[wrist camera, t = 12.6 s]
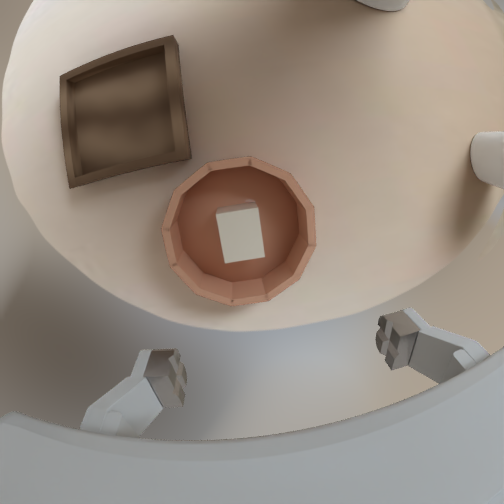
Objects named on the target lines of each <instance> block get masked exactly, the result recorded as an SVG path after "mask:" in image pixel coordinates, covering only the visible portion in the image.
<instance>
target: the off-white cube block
mask: <svg viewBox="0 0 504 504" xmlns="http://www.w3.org/2000/svg"><path fill="white" fill-rule="evenodd" d="M216 218H217V224H218V229H219V235H220V240H221V245H222V251H223V256H224V261H225V263H231V262H237V261H243V260H249V259H256V258H262V257H265V254H264V246H263V239H262V232H261V225H260V218H259V210H258V206H257V204H256V203H255V202H249V203H242V204H236V205H230V206H224V207H218V208H217V212H216Z"/></svg>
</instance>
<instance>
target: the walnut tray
mask: <svg viewBox="0 0 504 504" xmlns="http://www.w3.org/2000/svg"><path fill="white" fill-rule="evenodd" d="M60 114H61V128H62V139H63V148H64V156H65V164H66V170H67V176H68V182H69V188H70V189H71V188H74V187H78V186H81V185H85V184H88V183H91V182H95V181H98V180H102V179H105V178H109V177H112V176H116V175H120V174H124V173H128V172H132V171H136V170H140V169H144V168H148V167H153V166H157V165H162V164H167V163H172V162H176V161H182V160H187V159H192V158H191V151H190V144H189V137H188V129H187V122H186V114H185V106H184V97H183V88H182V79H181V69H180V59H179V48H178V44H177V42H176V40H175V38H174V36H173V35H171V36H167V37H163V38H159V39H155V40H152V41H148V42H144V43H141V44H138V45H135V46H131V47H128V48H125V49H122V50H119V51H117V52H114V53H111V54H108V55H106V56H103V57H101V58H98V59H96V60H93V61H91V62H89V63H86V64H84V65H82V66H80V67H77V68H75V69H73V70H71V71H69V72H67V73H65V74H63V75H61V76H60Z"/></svg>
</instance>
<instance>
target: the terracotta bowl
mask: <svg viewBox="0 0 504 504" xmlns="http://www.w3.org/2000/svg"><path fill="white" fill-rule="evenodd" d="M249 202H255V203H256V204H257V206H258V210H259V218H260V225H261V232H262V239H263V246H264V254H265V257H262V258H256V259H249V260H243V261H237V262H231V263H225V261H224V256H223V251H222V245H221V240H220V235H219V229H218V224H217V218H216V212H217V208H218V207H224V206H230V205H236V204H242V203H249ZM161 231H162V236H163V240H164V244H165V249H166V253H167V257H168V261H169V265H170V267H171V269H172V270H173V271H174V272H175V273H176V274H177V275H178V276H179V277H180V278H181V279H182V280H183V281H184V282H185V284H186V285H187V286H188V287H189V288H190V289H191V290H192V291H193V292H194V293H195V294H196V295H199V296H202V297H205V298H208V299H211V300H214V301H217V302H220V303H223V304H226V305H229V306H237V305H245V304H252V303H259V302H265V301H269V300H271V299H272V298H274V297H275V296H276V295H278V294H279V293H281V292H282V291H284V290H285V289H286V288H288V287H289V286H291V285H292V284H294V283H295V282H296V281H298V280H299V279H300V277H301V275H302V273H303V271H304V269H305V267H306V265H307V263H308V261H309V259H310V257H311V255H312V253H313V251H314V249H315V247H316V231H315V214H314V206H313V205H312V203H311V202H310V200H309V199H308V197H307V196H306V195H305V193H304V192H303V190H302V189H301V187H300V186H299V185H298V183H297V182H296V180H295V179H294V178H293V176H292V175H291V173H289V172H286V171H284V170H282V169H280V168H277V167H275V166H273V165H270V164H268V163H266V162H263V161H261V160H258V159H256V158H254V157H251V156H247V157H240V158H232V159H226V160H219V161H213V162H208V163H206V164H205V165H204V166H202V167H201V168H200V169H199V170H197V171H196V172H195V173H194V174H193V175H191V176H190V177H189V178H188V179H187V180H185V181H184V182H183V183H182V184H181V185H179V186H178V187H177V188H176V189H175V190H174V191H173V194H172V197H171V200H170V203H169V206H168V209H167V212H166V215H165V218H164V221H163V224H162V228H161Z"/></svg>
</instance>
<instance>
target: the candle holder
mask: <svg viewBox="0 0 504 504" xmlns="http://www.w3.org/2000/svg"><path fill="white" fill-rule="evenodd" d="M470 156H471V164H472V167H473V170H474V173H475V175H476V176H477V177H478V179H480V180H481V181H483V182H485V183H488V184H491V185H494V186H496V187H499V188H502V189H504V131H489V132H479V133H477V134H476V135H475V136H474V138H473V140H472V143H471V150H470Z"/></svg>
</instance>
